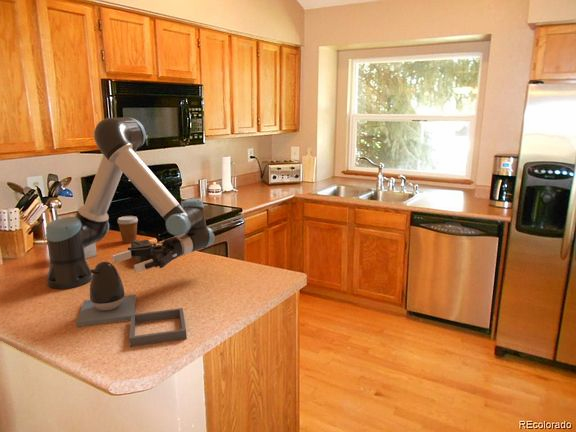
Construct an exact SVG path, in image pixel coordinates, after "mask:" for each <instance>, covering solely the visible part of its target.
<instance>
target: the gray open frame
mask: <svg viewBox="0 0 576 432" xmlns="http://www.w3.org/2000/svg"><path fill="white" fill-rule="evenodd" d="M175 318H177V319H178V318H179V320H180V328H181V329H175V330H167V331H160V332H153V333H145V334H140V335H138V334H137V335H136V324H139V323H145V322H153V321H161V320H169V319H175ZM128 338H129V347H130V348H132V347H139V346H145V345H151V344H152V345H153V344H159V343H166V342H172V341H179V340H186V339H187V328H186V321H185V314H184V308H183V307H180V308H173V309H172V308H171V309H163V310H156V311H150V312H149V311H147V312H141V313H140V312H139V313H135V314H132V315H131V320H130V328H129V337H128Z"/></svg>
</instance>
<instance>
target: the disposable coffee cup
mask: <svg viewBox="0 0 576 432" xmlns="http://www.w3.org/2000/svg"><path fill="white" fill-rule="evenodd" d="M116 221H117V224H118V227H119V232H120V236H121V240H122V243H124V244H131V242H133V241H135V240H137V236H138V235H137V231H138V221H139V219H138V217H137V216H134V215H125V216H124V215H123V216H121V217H118V218H117V220H116Z"/></svg>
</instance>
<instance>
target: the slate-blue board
mask: <svg viewBox="0 0 576 432" xmlns="http://www.w3.org/2000/svg"><path fill="white" fill-rule="evenodd" d="M136 299H137V298H136V294H129V295H124V298H123V301H122V303H121V304H120V305H119V306H118V307H117V308H115V309H113V310H108V311H102V310H99V309H97V308H95V307H94V305H93V304H92V302H91V301H90V299H87V300H86V299H85V300H83V303H82V306H81V309H80V312H79V315H78V317H77V319H76V327H77V328H80V327H87V326H95V325H103V324H112V323H117V322H118V323H120V322H127V321H131V315H132V314H136V313H135V311H136V301H137V300H136Z"/></svg>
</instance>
